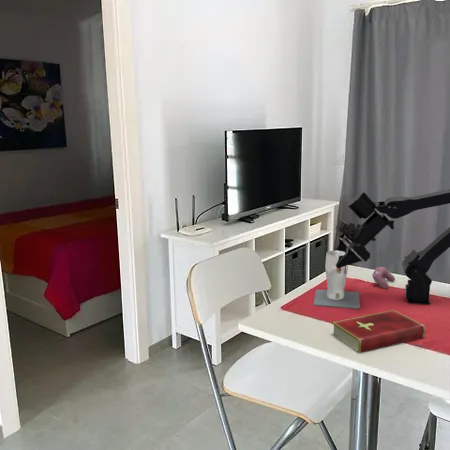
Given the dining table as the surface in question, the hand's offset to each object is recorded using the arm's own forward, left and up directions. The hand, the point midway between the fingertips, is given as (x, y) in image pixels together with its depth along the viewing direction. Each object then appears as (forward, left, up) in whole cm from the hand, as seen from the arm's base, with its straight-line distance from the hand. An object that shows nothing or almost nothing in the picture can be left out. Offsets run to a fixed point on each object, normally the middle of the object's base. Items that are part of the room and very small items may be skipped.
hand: (333, 263), depth 154 cm
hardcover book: (-13, +25, -13) cm, 31 cm away
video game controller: (-17, -19, -12) cm, 28 cm away
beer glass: (-1, -1, -12) cm, 12 cm away
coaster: (-1, 0, -12) cm, 12 cm away
